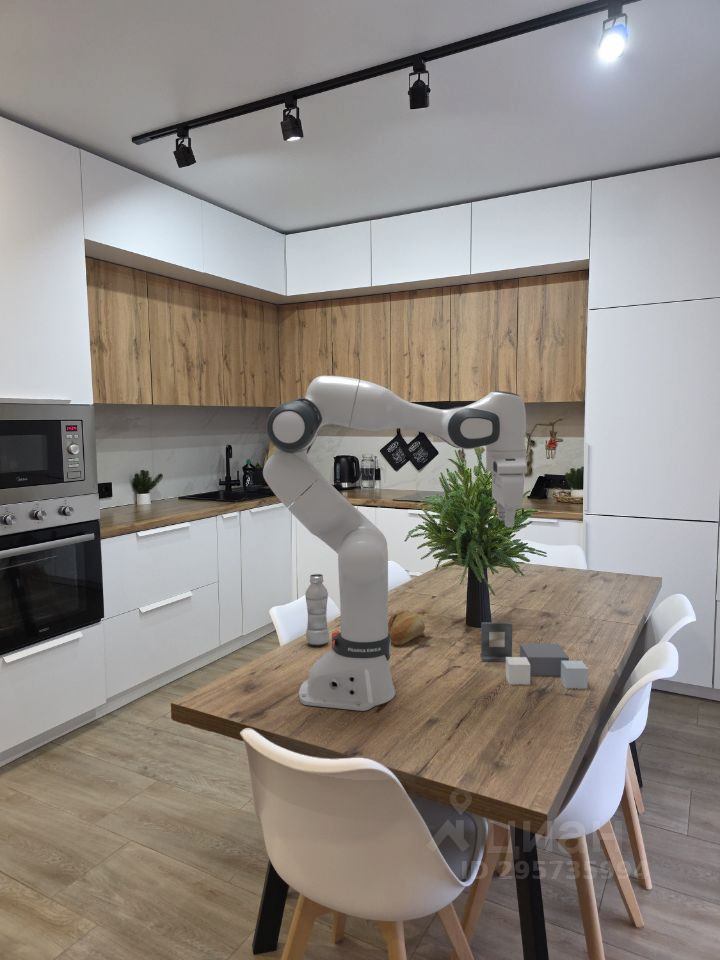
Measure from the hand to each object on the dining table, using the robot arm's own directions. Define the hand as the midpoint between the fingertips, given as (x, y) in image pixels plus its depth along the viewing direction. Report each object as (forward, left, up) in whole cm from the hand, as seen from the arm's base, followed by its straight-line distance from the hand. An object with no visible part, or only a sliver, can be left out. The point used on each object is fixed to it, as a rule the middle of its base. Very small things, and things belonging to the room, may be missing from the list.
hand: (505, 523), depth 150 cm
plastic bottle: (-48, +31, -40) cm, 69 cm away
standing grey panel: (+1, +21, -40) cm, 45 cm away
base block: (+12, +15, -40) cm, 45 cm away
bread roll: (-23, +36, -40) cm, 58 cm away
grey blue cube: (+17, +5, -40) cm, 44 cm away
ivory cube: (+4, +7, -40) cm, 41 cm away
